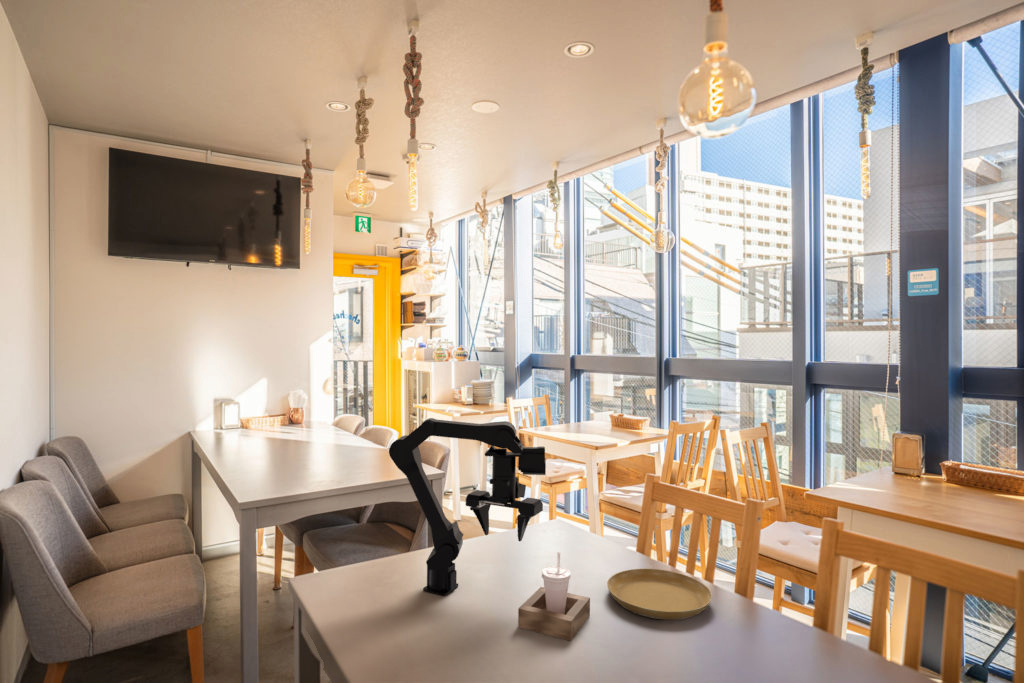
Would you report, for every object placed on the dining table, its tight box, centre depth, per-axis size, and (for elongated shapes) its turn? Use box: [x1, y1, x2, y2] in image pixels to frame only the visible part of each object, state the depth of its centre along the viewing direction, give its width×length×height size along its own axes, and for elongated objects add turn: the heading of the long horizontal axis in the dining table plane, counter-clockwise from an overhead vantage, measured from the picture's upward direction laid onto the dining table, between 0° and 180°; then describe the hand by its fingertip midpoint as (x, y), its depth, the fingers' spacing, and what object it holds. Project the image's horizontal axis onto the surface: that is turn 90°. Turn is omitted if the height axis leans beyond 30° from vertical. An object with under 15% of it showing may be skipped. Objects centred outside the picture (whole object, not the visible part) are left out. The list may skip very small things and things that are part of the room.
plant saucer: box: [606, 568, 713, 621], centre depth 134 cm, size 24×24×3 cm
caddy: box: [517, 586, 591, 642], centre depth 124 cm, size 12×12×4 cm
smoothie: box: [541, 551, 572, 614], centre depth 124 cm, size 6×6×14 cm
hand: (503, 537), depth 138 cm, fingers open, 9 cm apart
